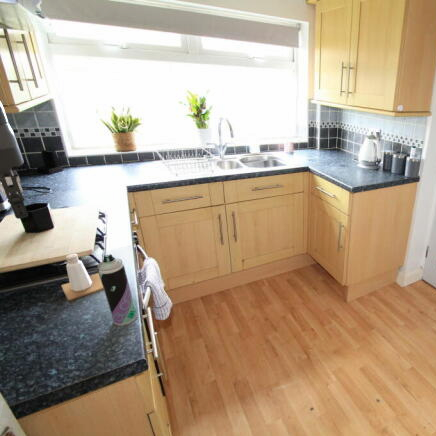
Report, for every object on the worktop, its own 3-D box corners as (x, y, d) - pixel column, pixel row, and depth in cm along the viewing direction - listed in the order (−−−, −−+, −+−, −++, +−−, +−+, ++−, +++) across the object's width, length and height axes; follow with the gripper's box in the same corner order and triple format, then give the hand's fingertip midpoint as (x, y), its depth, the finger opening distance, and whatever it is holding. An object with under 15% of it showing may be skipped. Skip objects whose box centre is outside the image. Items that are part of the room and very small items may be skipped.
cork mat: (61, 304, 91) (60, 302, 91) (54, 289, 97) (54, 287, 97) (109, 286, 99) (108, 285, 99) (100, 273, 105) (100, 272, 105)
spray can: (121, 328, 83) (101, 263, 75) (109, 321, 86) (89, 257, 78) (141, 316, 88) (125, 253, 80) (129, 309, 90) (112, 247, 82)
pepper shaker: (66, 291, 96) (54, 260, 91) (79, 280, 100) (68, 250, 96) (84, 292, 96) (73, 260, 91) (96, 281, 101) (86, 251, 96)
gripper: (-31, 142, 73) (-4, 208, 79) (-29, 152, 64) (1, 225, 70) (14, 139, 78) (35, 201, 84) (21, 148, 69) (45, 216, 75)
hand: (20, 212), depth 77 cm, fingers open, 8 cm apart
